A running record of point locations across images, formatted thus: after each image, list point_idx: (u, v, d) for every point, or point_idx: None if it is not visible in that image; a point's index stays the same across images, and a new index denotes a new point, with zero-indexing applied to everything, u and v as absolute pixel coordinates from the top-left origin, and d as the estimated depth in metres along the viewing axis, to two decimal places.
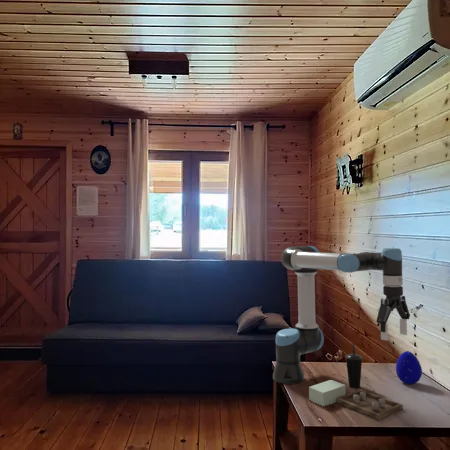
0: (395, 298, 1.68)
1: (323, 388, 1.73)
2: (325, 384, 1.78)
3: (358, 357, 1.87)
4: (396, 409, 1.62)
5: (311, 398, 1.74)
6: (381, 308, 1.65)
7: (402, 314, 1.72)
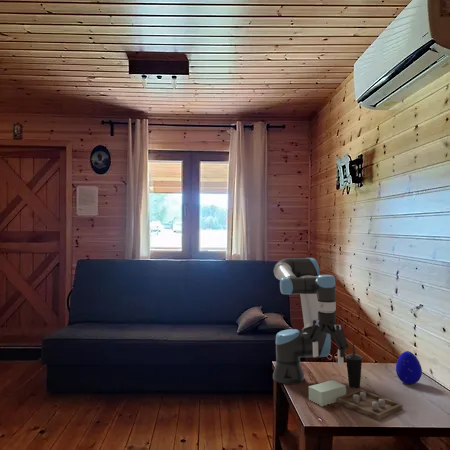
0: (325, 323, 1.75)
1: (322, 388, 1.73)
2: (325, 384, 1.78)
3: (358, 357, 1.87)
4: (396, 409, 1.62)
5: (310, 397, 1.74)
6: None
7: None
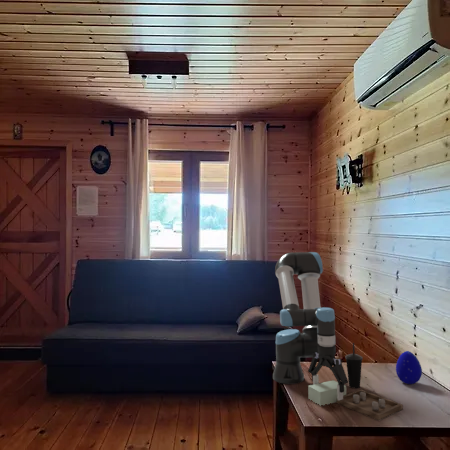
0: (324, 357, 1.75)
1: (322, 388, 1.73)
2: (325, 383, 1.78)
3: (358, 357, 1.87)
4: (396, 409, 1.62)
5: (310, 397, 1.75)
6: None
7: None
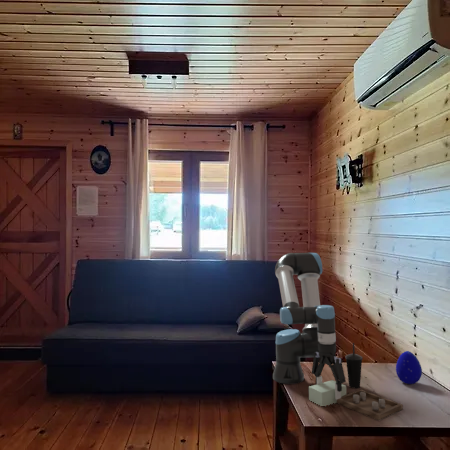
0: (325, 354, 1.75)
1: (322, 388, 1.72)
2: (325, 384, 1.77)
3: (358, 357, 1.87)
4: (396, 409, 1.62)
5: (310, 397, 1.74)
6: None
7: None
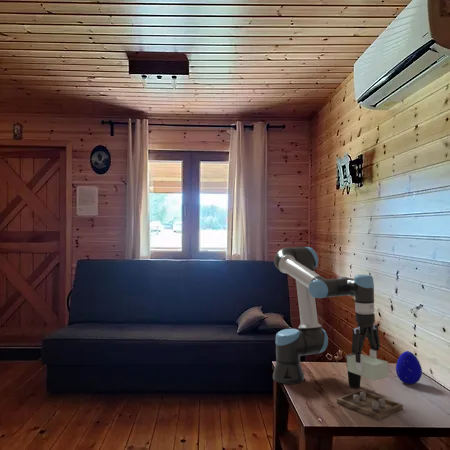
0: (367, 325, 1.67)
1: (375, 360, 1.65)
2: None
3: None
4: (396, 409, 1.62)
5: (376, 375, 1.60)
6: (354, 338, 1.65)
7: (372, 344, 1.70)
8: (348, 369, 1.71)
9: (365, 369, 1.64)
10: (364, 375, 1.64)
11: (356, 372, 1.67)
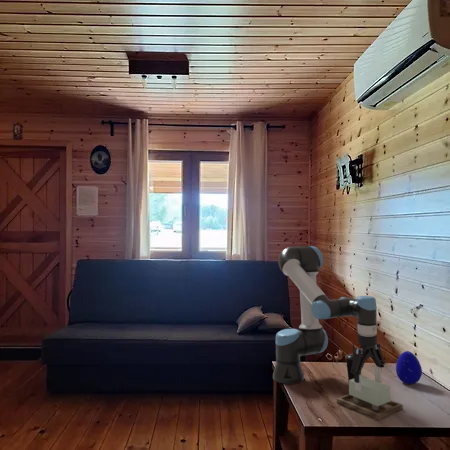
0: (369, 347, 1.67)
1: (378, 385, 1.65)
2: (363, 383, 1.68)
3: None
4: (396, 409, 1.62)
5: (379, 401, 1.60)
6: (355, 358, 1.64)
7: (377, 362, 1.71)
8: (350, 393, 1.71)
9: (368, 394, 1.63)
10: (367, 400, 1.64)
11: (358, 396, 1.67)
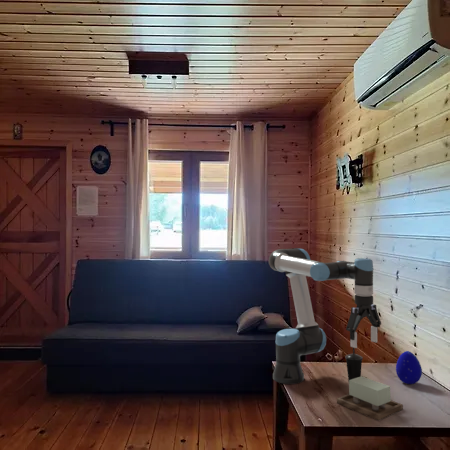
0: (365, 307, 1.73)
1: (378, 385, 1.65)
2: (363, 383, 1.68)
3: (358, 357, 1.87)
4: (396, 409, 1.62)
5: (379, 401, 1.60)
6: (351, 317, 1.70)
7: (373, 322, 1.77)
8: (350, 393, 1.71)
9: (368, 394, 1.63)
10: (367, 400, 1.64)
11: (358, 396, 1.67)
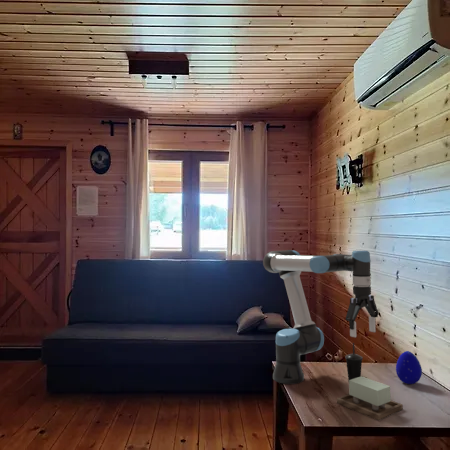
0: (364, 297, 1.79)
1: (378, 385, 1.65)
2: (363, 383, 1.68)
3: (358, 357, 1.87)
4: (396, 409, 1.62)
5: (379, 401, 1.60)
6: (350, 307, 1.75)
7: (371, 312, 1.82)
8: (350, 393, 1.71)
9: (368, 394, 1.63)
10: (367, 400, 1.64)
11: (358, 396, 1.67)
